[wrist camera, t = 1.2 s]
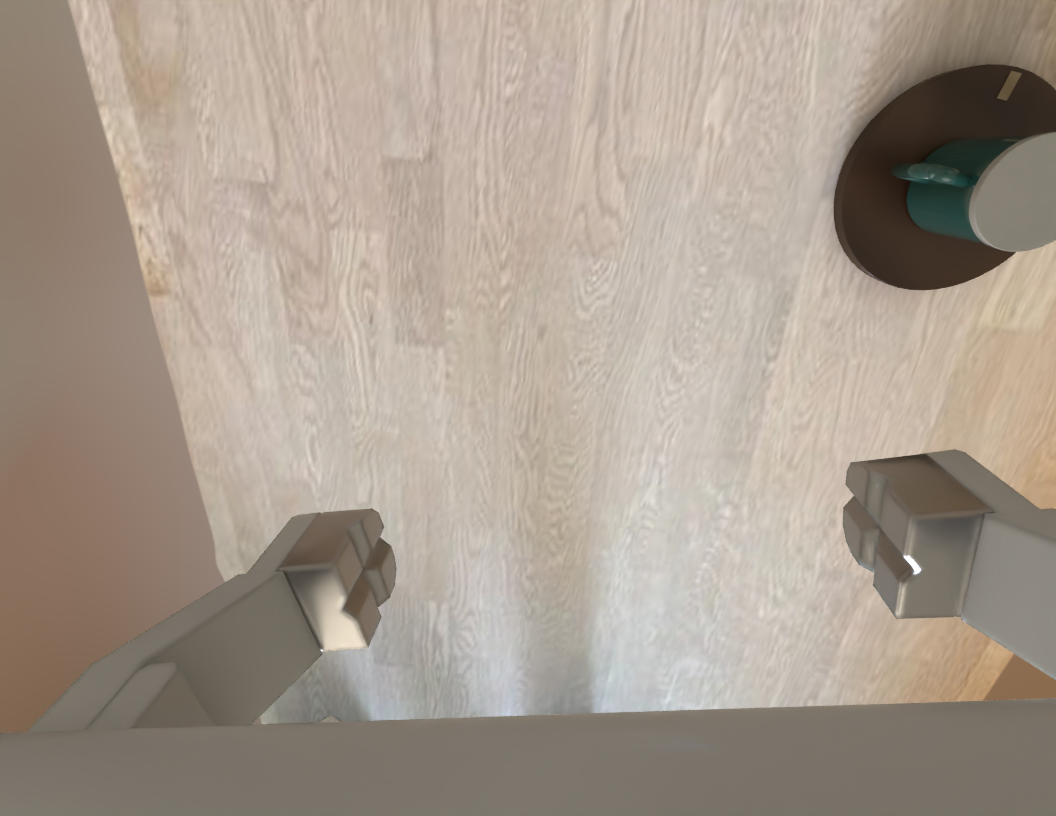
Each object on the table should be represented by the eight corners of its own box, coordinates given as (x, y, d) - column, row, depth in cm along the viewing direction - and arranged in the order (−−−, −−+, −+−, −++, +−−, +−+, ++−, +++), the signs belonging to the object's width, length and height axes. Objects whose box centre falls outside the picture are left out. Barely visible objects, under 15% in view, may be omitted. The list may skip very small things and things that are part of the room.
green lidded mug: (902, 116, 36) (977, 107, 30) (1027, 148, 37) (1131, 147, 30) (855, 215, 39) (914, 228, 32) (971, 244, 39) (1054, 263, 33)
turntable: (897, 43, 36) (910, 38, 35) (1106, 97, 36) (1127, 94, 35) (799, 261, 43) (807, 265, 41) (976, 305, 43) (990, 310, 41)
